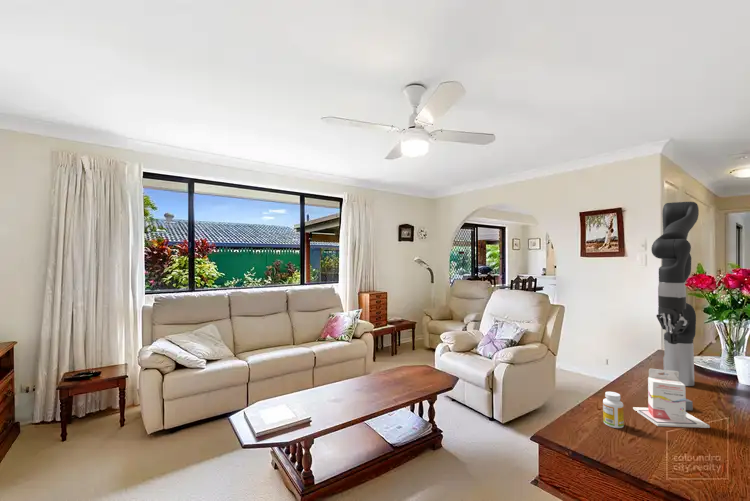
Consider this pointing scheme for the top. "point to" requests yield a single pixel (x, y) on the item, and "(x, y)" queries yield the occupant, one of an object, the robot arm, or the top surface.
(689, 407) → the button housing
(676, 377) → the ink cartridge box
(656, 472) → the top surface
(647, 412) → the sheet
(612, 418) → the supplement bottle
